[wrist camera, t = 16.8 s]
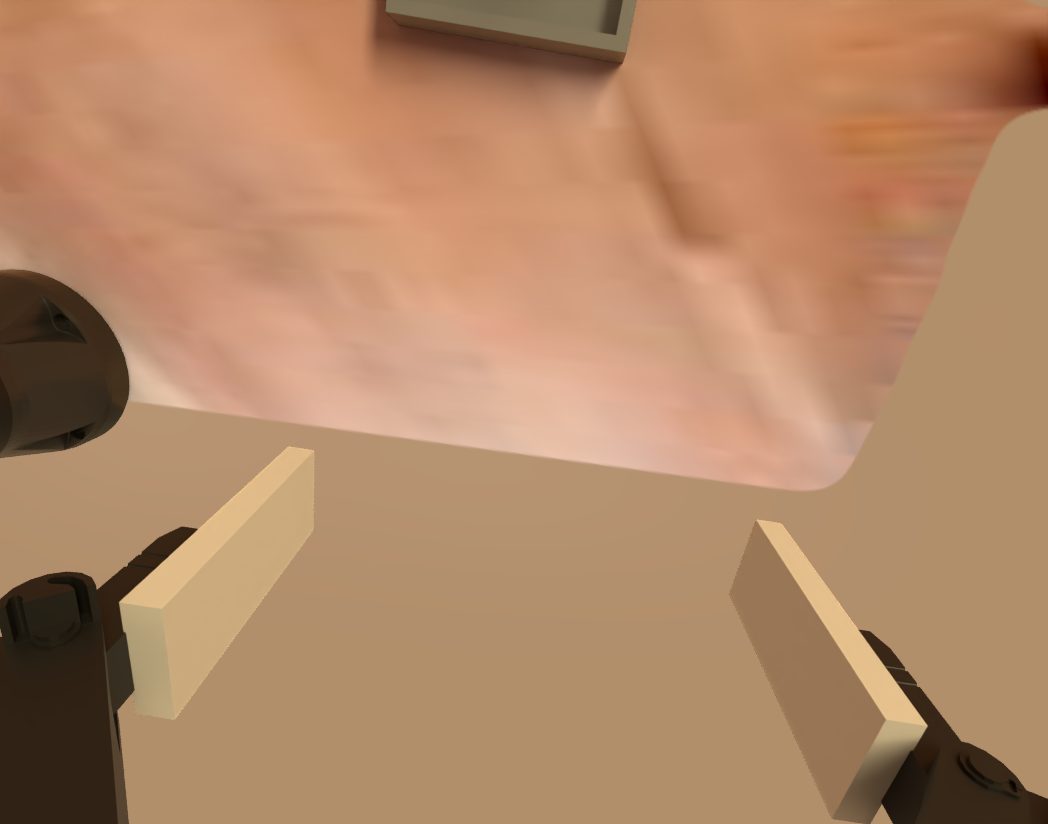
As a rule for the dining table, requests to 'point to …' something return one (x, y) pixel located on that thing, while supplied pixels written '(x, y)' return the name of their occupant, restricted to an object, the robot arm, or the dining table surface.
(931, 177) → the dining table surface
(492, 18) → the tray
